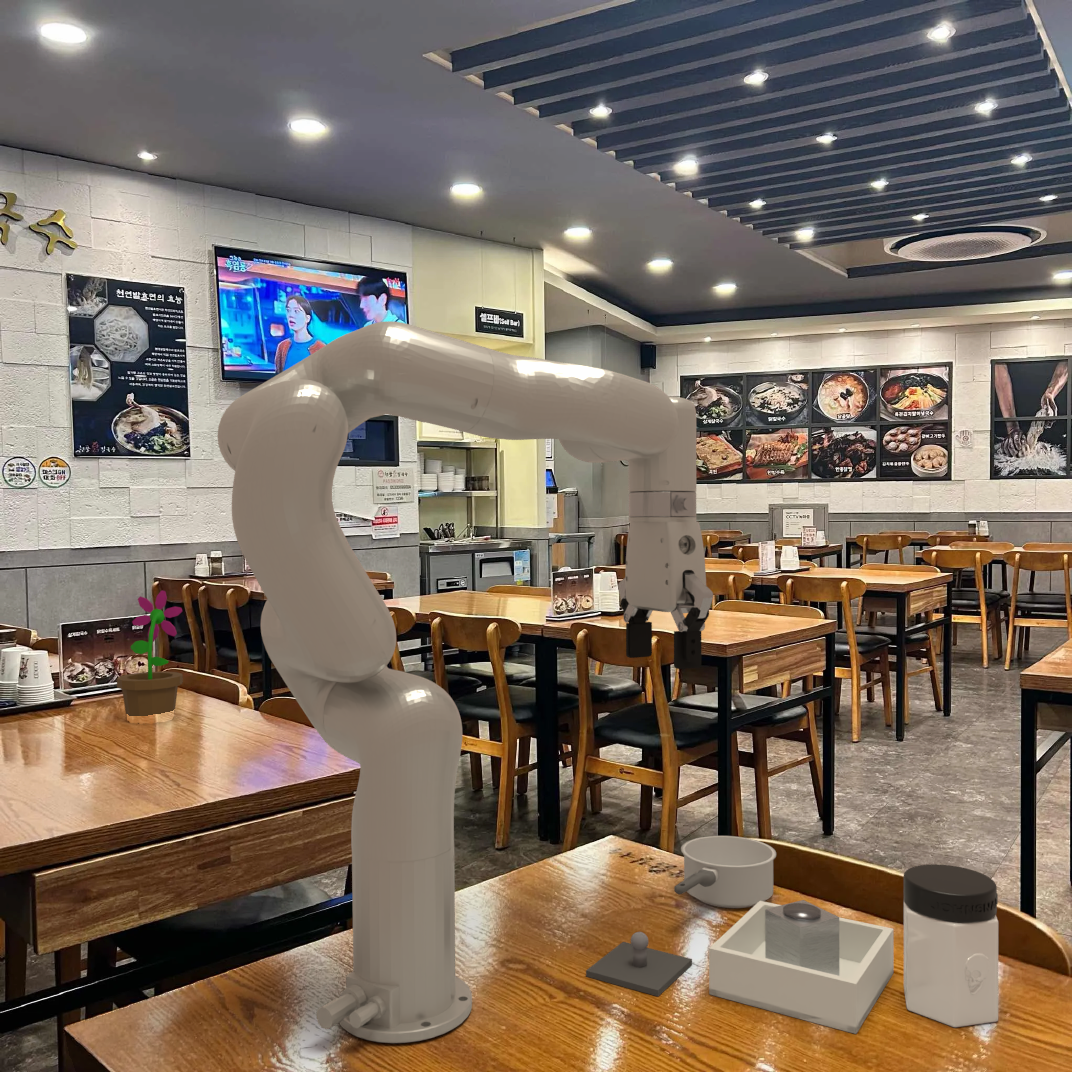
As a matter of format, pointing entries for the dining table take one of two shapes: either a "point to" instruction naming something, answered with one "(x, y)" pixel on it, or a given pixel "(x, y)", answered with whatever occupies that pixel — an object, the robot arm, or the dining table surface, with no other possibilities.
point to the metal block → (803, 936)
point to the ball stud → (639, 966)
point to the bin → (803, 973)
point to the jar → (951, 944)
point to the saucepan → (727, 871)
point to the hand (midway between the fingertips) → (662, 662)
